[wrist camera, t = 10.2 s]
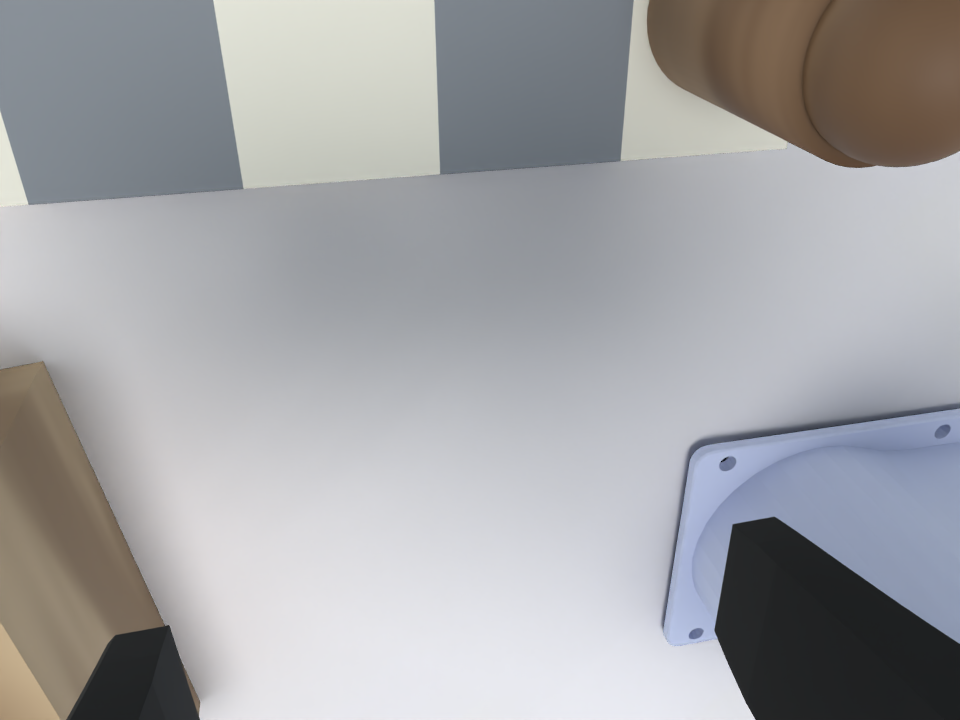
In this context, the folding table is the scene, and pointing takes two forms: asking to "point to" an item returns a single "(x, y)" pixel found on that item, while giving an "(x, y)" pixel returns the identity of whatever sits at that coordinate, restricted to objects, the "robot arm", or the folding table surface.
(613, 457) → the folding table surface
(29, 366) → the tan rectangular block
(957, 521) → the robot arm
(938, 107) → the pawn
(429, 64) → the track
